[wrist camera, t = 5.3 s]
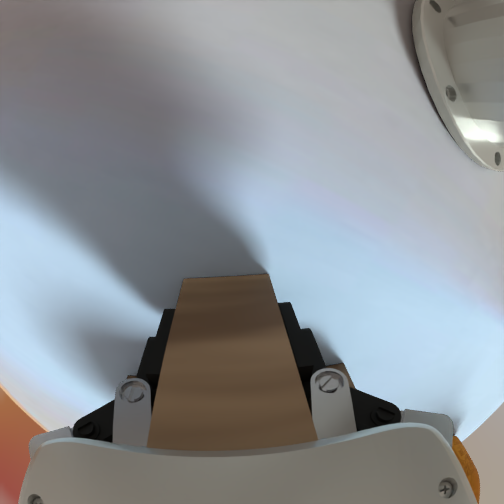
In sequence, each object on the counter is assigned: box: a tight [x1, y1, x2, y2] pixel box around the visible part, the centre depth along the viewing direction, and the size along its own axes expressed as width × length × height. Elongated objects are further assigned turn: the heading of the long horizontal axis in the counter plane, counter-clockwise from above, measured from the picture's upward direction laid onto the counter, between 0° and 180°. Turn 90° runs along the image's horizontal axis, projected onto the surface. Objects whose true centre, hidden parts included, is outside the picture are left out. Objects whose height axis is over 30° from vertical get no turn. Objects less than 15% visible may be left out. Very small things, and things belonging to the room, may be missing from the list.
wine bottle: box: [452, 436, 480, 504], centre depth 18 cm, size 10×10×30 cm
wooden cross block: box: [127, 274, 356, 451], centre depth 10 cm, size 9×14×9 cm, turn 91°
